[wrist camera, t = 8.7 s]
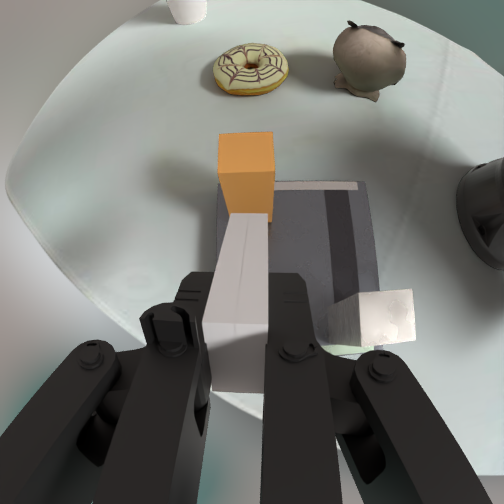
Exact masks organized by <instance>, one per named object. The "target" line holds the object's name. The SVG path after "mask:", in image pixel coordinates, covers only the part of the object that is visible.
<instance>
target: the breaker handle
mask: <svg viewBox="0 0 504 504" xmlns="http://www.w3.org/2000/svg"><path fill="white" fill-rule="evenodd" d="M218 177H219V181H220V184H221V188H222V191H223V195H224V199H225V202H226V206H227V209H228V213H229V216H230V214H231V213H263V214H268V222H272V213H273V198H274V182H275V161H274V146H273V132H249V133H228V134H219V148H218Z"/></svg>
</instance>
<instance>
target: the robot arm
mask: <svg viewBox="0 0 504 504" xmlns="http://www.w3.org/2000/svg"><path fill="white" fill-rule="evenodd" d="M457 211H458V216H459V220H460V224H461V227H462V229H463V232H464V234H465V236H466V238H467V240H468V242H469V244H470V245H471V247H472V249H473V250H474V251H475V253H476V254H477V255H478V256H479V257H480V258H481V259H482V260H483V261H484V262H485V263H487V264H488V265H490V266H491V267H493V268H496V269H500V270H504V157H503V158H500V159H497V160H494V161H491V162H489V163H485V164H480V165H478V166H476V167H474V168H473V169H471V170H470V171H469V172H468V173H467V174H466V175H465V176H464V177H463V178H462V180H461V182H460V184H459V186H458V190H457ZM139 319H140V323H141V326H142V329H143V333H144V336H145V339H146V343H147V345H146V346H145V347H143V348H140V349H136V350H130V351H122V352H115V350H114V348H113V346H112V345H110V344H109V343H108V342H106V341H101V340H91V341H87V342H84V343H82V344H80V345H79V346H77V347H76V348H75V349H74V350H73V351H72V352H71V353H70V354H69V355H68V356H67V357H66V359H65V360H64V361H63V362H62V363H61V364H60V365H59V367H58V368H57V369H56V370H55V371H54V372H53V373H52V374H51V376H50V377H49V378H48V379H47V380H46V381H45V383H44V384H43V385H42V386H41V387H40V389H39V390H38V391H37V392H36V393H35V394H34V396H33V397H32V398H31V399H30V401H29V402H28V403H27V404H26V405H25V406H24V408H23V409H22V410H21V412H20V413H19V414H18V415H17V416H16V418H15V419H14V420H13V421H12V423H11V424H10V425H9V426H8V428H7V429H6V430H5V432H4V433H3V434H2V435H1V437H0V504H91V503H92V501H93V503H92V504H197V497H198V490H199V483H200V476H201V469H202V462H203V455H204V448H205V441H206V435H207V428H208V421H209V414H210V408H211V407H210V398H209V393H210V387H211V385H212V391H219V392H236V393H264V403H263V434H262V462H261V463H262V464H261V488H260V504H342V492H341V483H340V472H339V464H338V455H337V446H336V439H337V441H338V444H339V446H340V448H341V451H342V453H343V455H344V457H345V460H346V462H347V465H348V467H349V469H350V472H351V474H352V476H353V479H354V481H355V484H356V486H357V488H358V491H359V493H360V495H361V498H362V500H363V502H364V504H492V502H491V500H490V498H489V496H488V495H487V493H486V491H485V489H484V487H483V486H482V484H481V482H480V480H479V478H478V477H477V475H476V473H475V471H474V470H473V468H472V466H471V464H470V463H469V461H468V459H467V458H466V456H465V454H464V453H463V451H462V449H461V448H460V446H459V444H458V443H457V441H456V440H455V438H454V436H453V435H452V433H451V431H450V430H449V428H448V427H447V425H446V424H445V422H444V420H443V419H442V417H441V416H440V414H439V413H438V411H437V410H436V408H435V406H434V405H433V403H432V402H431V400H430V399H429V397H428V396H427V394H426V393H425V391H424V390H423V388H422V387H421V385H420V384H419V382H418V381H417V379H416V378H415V377H414V375H413V374H412V372H411V371H410V369H409V368H408V366H407V365H406V363H405V362H404V361H403V360H402V359H401V358H400V357H399V356H397V355H395V354H393V353H392V352H390V351H385V350H370V351H368V352H366V353H364V354H362V355H361V356H360V357H359V358H358V359H357V360H352V359H347V358H343V357H339V356H336V355H333V354H331V353H329V352H327V351H326V350H324V349H323V348H322V347H321V346H320V344H319V342H317V340H316V337H315V333H314V327H313V321H312V315H311V309H310V303H309V298H308V292H307V286H306V282H305V281H304V279H303V278H302V277H301V276H300V275H299V274H298V273H272V272H268V214H263V213H231V214H230V218H229V222H228V225H227V229H226V232H225V236H224V240H223V243H222V247H221V251H220V255H219V258H218V262H217V266H216V270H215V272H191V273H189V274H188V275H187V276H186V277H185V278H184V279H183V280H182V282H181V284H180V287H179V289H178V292H177V294H176V297H175V300H174V302H171V303H162V304H158V305H155V306H152V307H151V308H149V309H148V310H146V311H145V312H144V313H143V314H142V316H141V317H140V318H139ZM335 436H336V438H335Z"/></svg>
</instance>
